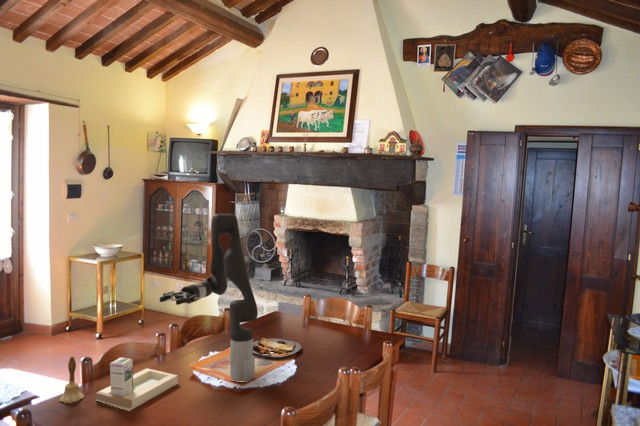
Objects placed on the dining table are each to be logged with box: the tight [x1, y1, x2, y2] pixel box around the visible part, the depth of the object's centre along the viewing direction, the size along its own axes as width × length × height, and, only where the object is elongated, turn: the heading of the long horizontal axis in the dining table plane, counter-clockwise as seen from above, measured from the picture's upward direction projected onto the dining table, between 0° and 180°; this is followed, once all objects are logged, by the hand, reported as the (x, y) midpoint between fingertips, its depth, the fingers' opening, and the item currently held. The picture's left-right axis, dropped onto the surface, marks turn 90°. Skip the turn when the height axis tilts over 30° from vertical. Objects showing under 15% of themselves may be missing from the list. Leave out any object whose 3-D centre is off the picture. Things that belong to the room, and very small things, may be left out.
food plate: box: [253, 337, 302, 358], centre depth 243 cm, size 25×23×4 cm
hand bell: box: [59, 356, 85, 402], centre depth 187 cm, size 8×8×16 cm
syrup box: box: [109, 357, 134, 397], centre depth 186 cm, size 6×6×14 cm
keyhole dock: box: [95, 367, 178, 412], centre depth 194 cm, size 26×16×4 cm, turn 156°
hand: (168, 301), depth 207 cm, fingers open, 8 cm apart
